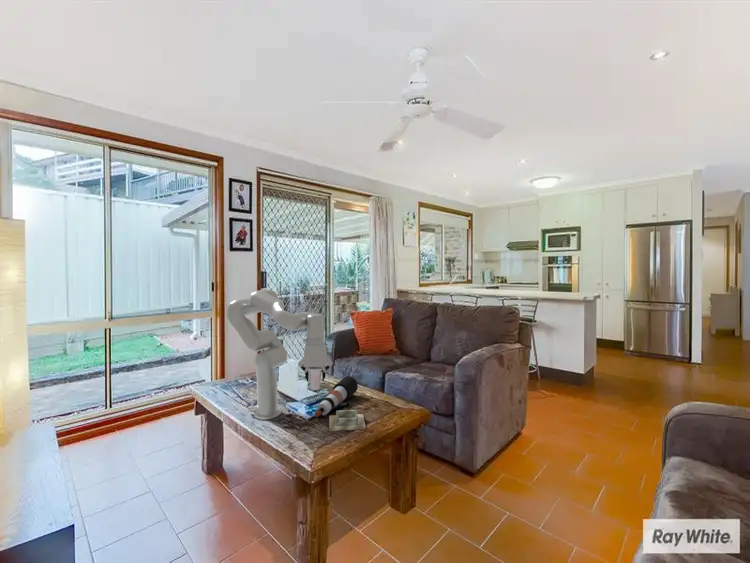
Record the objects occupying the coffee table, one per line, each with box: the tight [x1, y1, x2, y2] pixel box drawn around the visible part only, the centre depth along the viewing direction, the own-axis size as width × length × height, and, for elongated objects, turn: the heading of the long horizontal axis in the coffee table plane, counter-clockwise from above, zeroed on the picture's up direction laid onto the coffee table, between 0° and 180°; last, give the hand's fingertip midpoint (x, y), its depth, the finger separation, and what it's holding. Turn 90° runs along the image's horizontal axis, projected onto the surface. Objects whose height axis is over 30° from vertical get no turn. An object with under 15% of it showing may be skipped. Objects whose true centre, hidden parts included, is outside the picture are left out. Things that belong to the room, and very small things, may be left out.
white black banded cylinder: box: [314, 375, 359, 418], centre depth 183 cm, size 10×34×10 cm, turn 156°
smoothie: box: [308, 367, 323, 391], centre depth 161 cm, size 6×6×14 cm
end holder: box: [328, 409, 366, 432], centre depth 164 cm, size 16×13×4 cm
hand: (315, 379), depth 162 cm, fingers closed on smoothie, 6 cm apart
